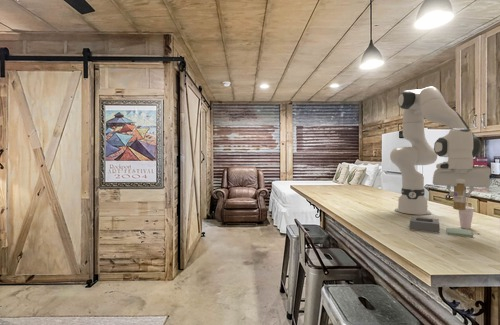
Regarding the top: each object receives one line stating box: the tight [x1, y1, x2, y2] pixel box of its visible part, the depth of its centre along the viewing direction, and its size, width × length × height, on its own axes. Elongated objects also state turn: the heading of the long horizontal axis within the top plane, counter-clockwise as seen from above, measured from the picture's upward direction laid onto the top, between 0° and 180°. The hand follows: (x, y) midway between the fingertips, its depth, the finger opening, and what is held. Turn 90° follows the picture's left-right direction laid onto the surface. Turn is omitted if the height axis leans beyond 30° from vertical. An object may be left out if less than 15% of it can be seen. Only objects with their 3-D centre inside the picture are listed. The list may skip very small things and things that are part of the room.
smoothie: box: [458, 197, 475, 230], centre depth 135 cm, size 6×6×14 cm
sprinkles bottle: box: [452, 179, 467, 211], centre depth 125 cm, size 5×5×14 cm
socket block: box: [409, 215, 441, 234], centre depth 134 cm, size 11×11×4 cm
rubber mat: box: [445, 227, 474, 238], centre depth 126 cm, size 9×9×1 cm
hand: (459, 196), depth 125 cm, fingers closed on sprinkles bottle, 4 cm apart
